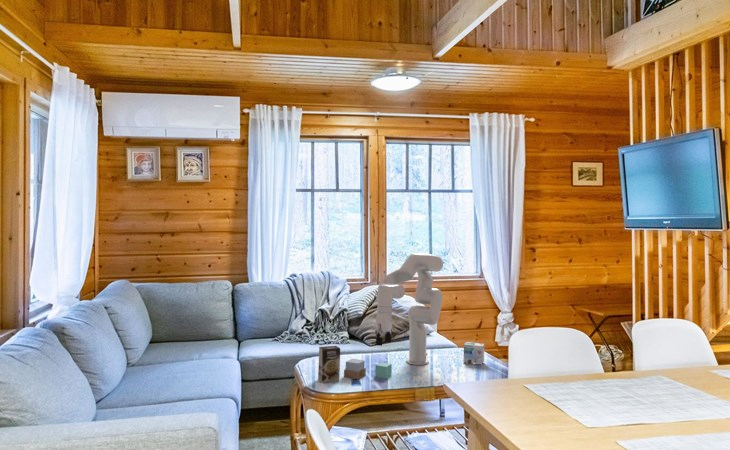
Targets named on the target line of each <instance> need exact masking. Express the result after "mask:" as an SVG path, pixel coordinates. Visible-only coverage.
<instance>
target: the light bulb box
mask: <svg viewBox="0 0 730 450" xmlns="http://www.w3.org/2000/svg"><path fill="white" fill-rule="evenodd" d="M463 362H466V363H465V364H468V363H475V364H482V363H483V362H484V363H485V343H479V342H470V341H469V342H468V341H466V342H465V343H464V344H463ZM463 362H462V363H463ZM484 363H483V364H484ZM475 364H474V365H475Z"/></svg>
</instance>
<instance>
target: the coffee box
mask: <svg viewBox="0 0 730 450" xmlns="http://www.w3.org/2000/svg"><path fill="white" fill-rule="evenodd" d="M318 349H319V350H318V371H317V372H318V373H317V374H318V375H317V380H318V381H319V382H320V383H321V384H328V383H327V382H329V383H337V382H338V383H339V382H340V374H341V373H340V370H341V347H339V346H337V345H329V346H328V345H327V346H319V347H318Z"/></svg>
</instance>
